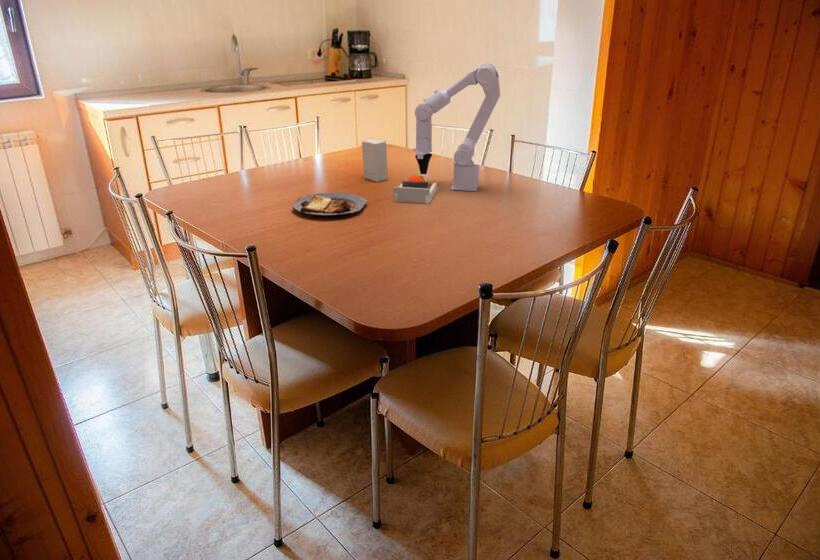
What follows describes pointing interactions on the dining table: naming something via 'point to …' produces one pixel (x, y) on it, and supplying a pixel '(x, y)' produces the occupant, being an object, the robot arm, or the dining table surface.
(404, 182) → the block
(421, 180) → the clementine
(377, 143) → the skincare box
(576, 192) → the dining table surface
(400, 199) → the grey open tray
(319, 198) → the food plate
